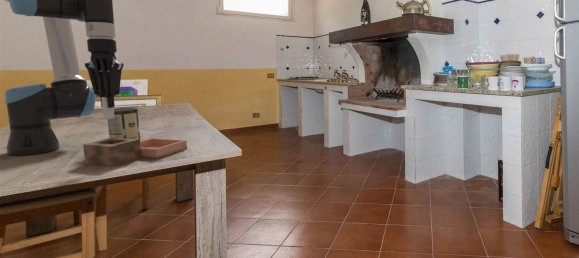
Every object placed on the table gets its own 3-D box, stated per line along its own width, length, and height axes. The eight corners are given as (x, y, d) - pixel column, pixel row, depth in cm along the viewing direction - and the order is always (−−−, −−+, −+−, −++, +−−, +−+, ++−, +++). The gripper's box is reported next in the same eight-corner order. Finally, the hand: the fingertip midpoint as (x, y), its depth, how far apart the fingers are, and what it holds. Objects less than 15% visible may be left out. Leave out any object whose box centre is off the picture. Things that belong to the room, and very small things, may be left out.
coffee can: (120, 144, 130) (117, 108, 128) (146, 145, 129) (143, 107, 127) (103, 151, 120) (99, 111, 118) (131, 151, 119) (127, 111, 117)
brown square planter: (85, 163, 103) (83, 144, 102) (115, 155, 114) (113, 137, 113) (113, 166, 100) (111, 146, 99) (141, 157, 110) (139, 139, 109)
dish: (120, 155, 113) (120, 146, 113) (153, 145, 127) (152, 138, 127) (157, 158, 108) (156, 149, 108) (186, 148, 122) (186, 140, 122)
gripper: (73, 38, 99) (82, 118, 103) (107, 37, 95) (115, 121, 99) (95, 40, 106) (103, 115, 110) (128, 39, 102) (135, 117, 106)
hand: (109, 118), depth 105 cm, fingers closed
